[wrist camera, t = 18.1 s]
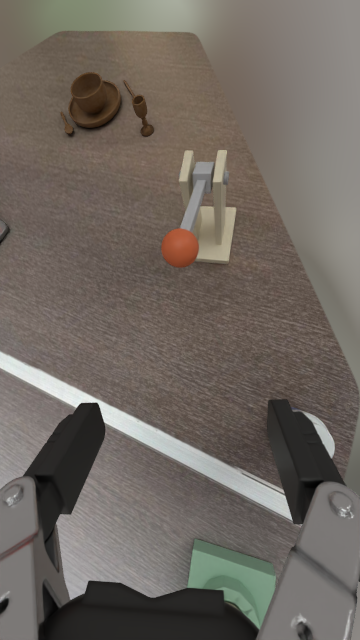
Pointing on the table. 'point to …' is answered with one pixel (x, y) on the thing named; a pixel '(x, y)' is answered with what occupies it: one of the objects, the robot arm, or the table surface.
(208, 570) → the button block
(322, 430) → the pill bottle
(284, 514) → the table surface
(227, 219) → the bracket
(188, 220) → the lever
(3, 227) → the toaster
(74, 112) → the place setting
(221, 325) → the table surface
